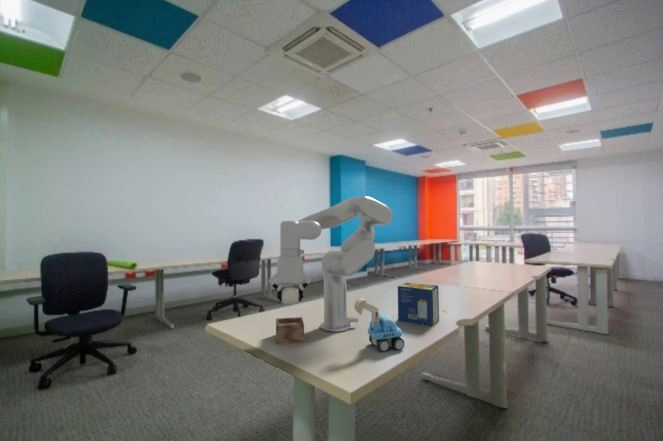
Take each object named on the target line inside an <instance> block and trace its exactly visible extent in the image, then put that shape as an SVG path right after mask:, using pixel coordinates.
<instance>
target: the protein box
mask: <svg viewBox="0 0 663 441" xmlns="http://www.w3.org/2000/svg"><path fill="white" fill-rule="evenodd" d="M439 299H440V298H439V285H435V284H434V285H433V284H422V283H417V282H416V283H413V282H405V283H402V284H399V285H397V321H400V322H405V323H410V322H412V323H411V324H415V323H417V324H416V325H421V324H424V325H423V326H426V325H431V326H430V327H433V326H434V325H435V324H437V323H438V322H439V321H440V308H439V307H440V303H439V301H440V300H439ZM437 321H438V322H437ZM433 324H434V325H433ZM432 325H433V326H432Z"/></svg>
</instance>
